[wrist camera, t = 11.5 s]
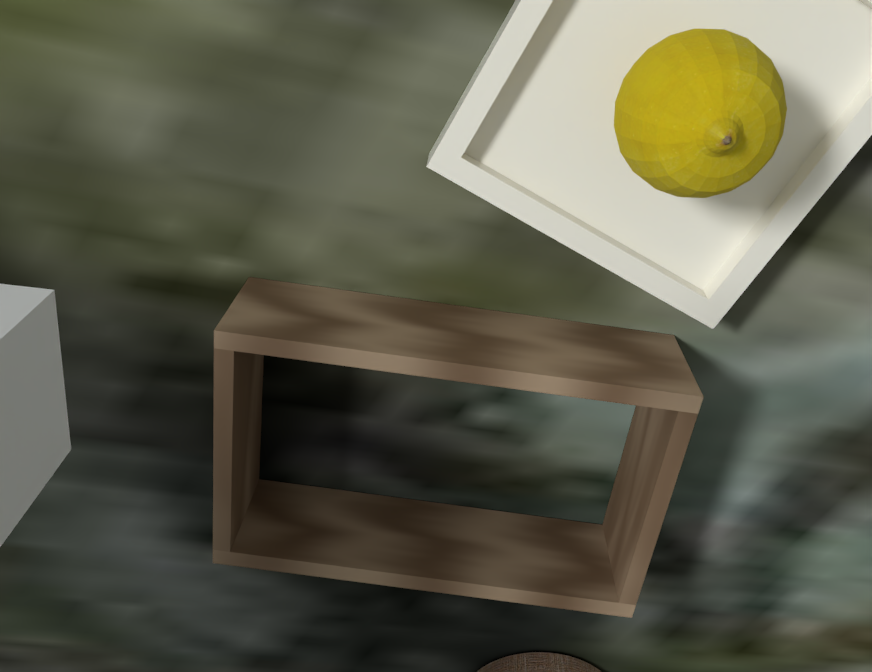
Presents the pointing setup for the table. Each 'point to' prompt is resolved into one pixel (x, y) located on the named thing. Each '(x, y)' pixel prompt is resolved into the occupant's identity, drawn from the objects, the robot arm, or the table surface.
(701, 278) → the plate
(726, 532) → the table surface
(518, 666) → the planter
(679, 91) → the fruit
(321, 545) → the open wooden box frame
